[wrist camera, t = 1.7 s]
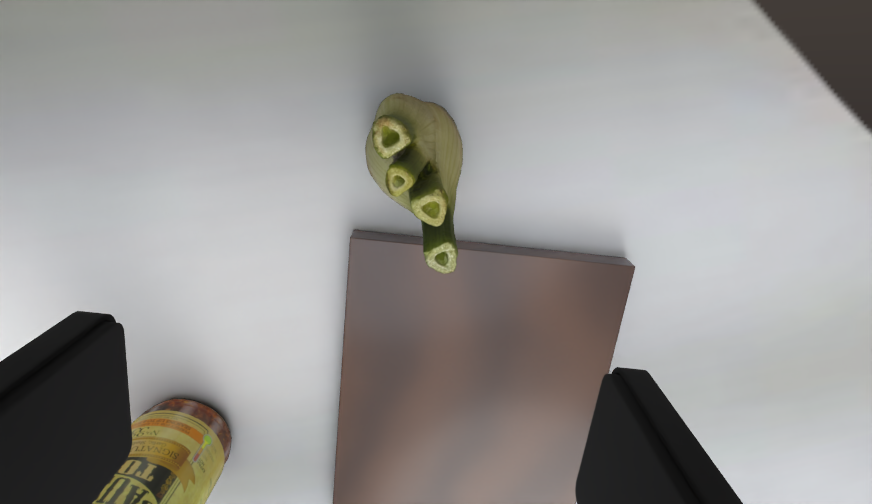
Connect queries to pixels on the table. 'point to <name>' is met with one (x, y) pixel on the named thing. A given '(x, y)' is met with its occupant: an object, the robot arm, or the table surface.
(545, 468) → the cutting board
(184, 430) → the sauce bottle
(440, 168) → the fennel bulb
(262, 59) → the table surface
